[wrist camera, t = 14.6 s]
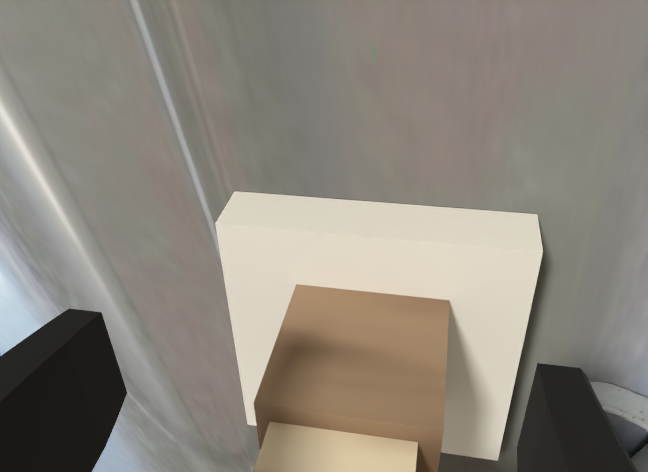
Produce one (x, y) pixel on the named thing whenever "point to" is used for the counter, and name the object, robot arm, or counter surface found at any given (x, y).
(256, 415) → the walnut block
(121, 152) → the counter surface
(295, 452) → the maple block
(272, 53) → the counter surface
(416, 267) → the base
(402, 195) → the counter surface
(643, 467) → the ceramic mug
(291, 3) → the counter surface
